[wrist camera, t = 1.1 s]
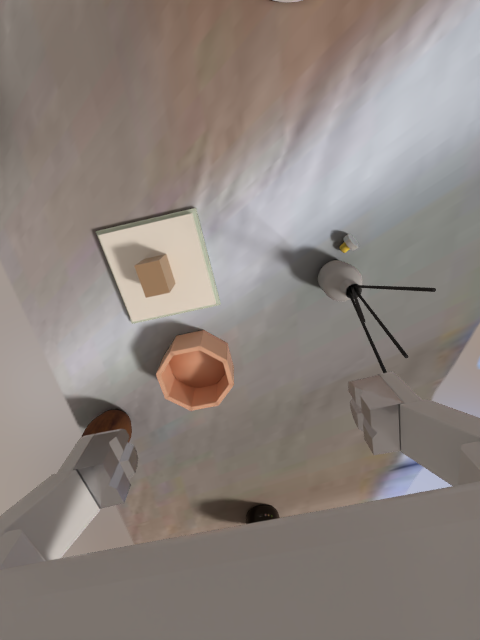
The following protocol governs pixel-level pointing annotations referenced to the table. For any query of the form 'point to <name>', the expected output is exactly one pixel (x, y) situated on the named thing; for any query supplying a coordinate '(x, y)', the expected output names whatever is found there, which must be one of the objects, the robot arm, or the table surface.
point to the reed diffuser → (354, 289)
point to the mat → (200, 242)
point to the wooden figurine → (109, 423)
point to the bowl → (196, 371)
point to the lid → (159, 267)
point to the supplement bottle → (261, 514)
